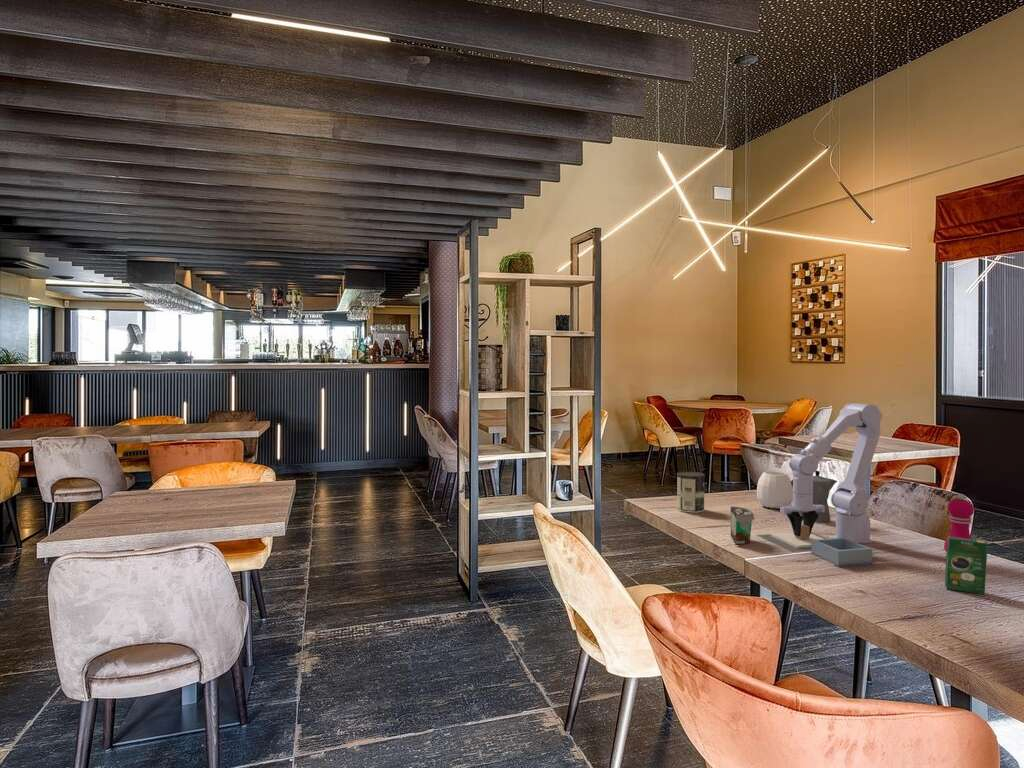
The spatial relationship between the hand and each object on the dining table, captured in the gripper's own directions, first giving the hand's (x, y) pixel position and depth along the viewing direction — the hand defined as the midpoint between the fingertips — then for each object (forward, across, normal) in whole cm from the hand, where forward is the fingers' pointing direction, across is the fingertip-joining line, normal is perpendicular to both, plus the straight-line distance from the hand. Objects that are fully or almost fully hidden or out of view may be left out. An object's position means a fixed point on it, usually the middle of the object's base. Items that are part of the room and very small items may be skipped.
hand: (802, 535), depth 193 cm
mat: (+2, 0, 0) cm, 2 cm away
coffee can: (+2, +14, -46) cm, 48 cm away
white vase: (+3, -21, -44) cm, 49 cm away
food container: (+2, +18, -4) cm, 19 cm away
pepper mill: (+3, -30, +27) cm, 40 cm away
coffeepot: (+3, -22, -23) cm, 32 cm away
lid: (+2, 0, 0) cm, 2 cm away
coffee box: (+3, -13, +44) cm, 46 cm away
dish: (+2, 0, +17) cm, 17 cm away
